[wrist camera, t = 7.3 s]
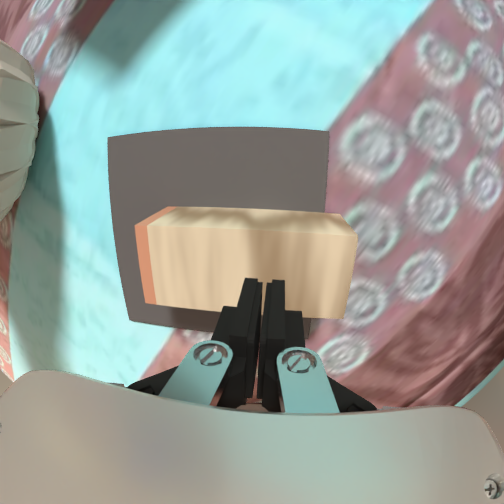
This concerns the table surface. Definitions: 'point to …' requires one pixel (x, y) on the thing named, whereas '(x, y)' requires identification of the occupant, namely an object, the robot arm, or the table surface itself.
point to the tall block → (246, 257)
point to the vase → (16, 124)
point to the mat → (207, 190)
